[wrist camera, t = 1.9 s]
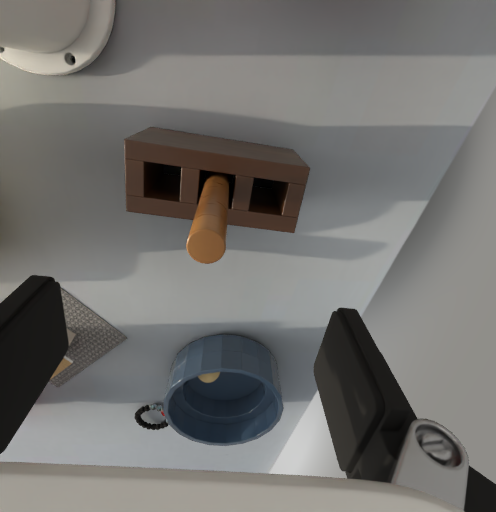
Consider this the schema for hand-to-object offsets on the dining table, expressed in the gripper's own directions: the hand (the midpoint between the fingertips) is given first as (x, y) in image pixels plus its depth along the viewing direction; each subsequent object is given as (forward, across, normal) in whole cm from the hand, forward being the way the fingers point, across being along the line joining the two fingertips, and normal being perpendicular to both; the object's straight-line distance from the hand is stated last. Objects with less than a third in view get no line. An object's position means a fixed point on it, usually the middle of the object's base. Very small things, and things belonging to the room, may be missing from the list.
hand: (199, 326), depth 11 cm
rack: (+24, 0, 0) cm, 24 cm away
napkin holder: (+24, +19, +26) cm, 40 cm away
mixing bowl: (+24, -4, +29) cm, 38 cm away
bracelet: (+24, +6, +40) cm, 47 cm away
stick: (+24, 0, 0) cm, 24 cm away
